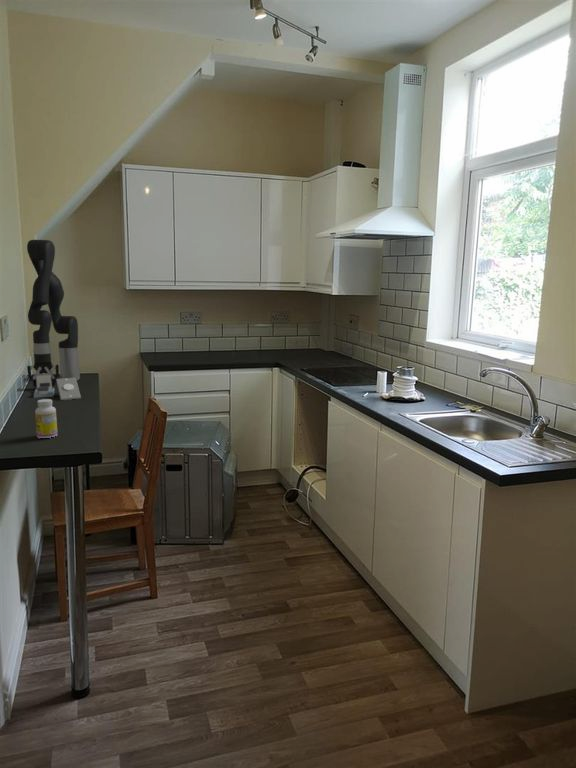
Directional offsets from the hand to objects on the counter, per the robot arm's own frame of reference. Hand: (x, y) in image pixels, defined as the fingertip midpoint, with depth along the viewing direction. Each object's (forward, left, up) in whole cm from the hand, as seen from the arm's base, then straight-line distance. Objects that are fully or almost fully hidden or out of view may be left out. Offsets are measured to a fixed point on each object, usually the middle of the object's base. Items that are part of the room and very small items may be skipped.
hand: (44, 386), depth 285 cm
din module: (0, 0, -2) cm, 2 cm away
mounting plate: (+10, +6, -1) cm, 12 cm away
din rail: (+10, +6, 0) cm, 11 cm away
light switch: (+13, +20, -2) cm, 24 cm away
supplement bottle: (+75, +47, -2) cm, 88 cm away
